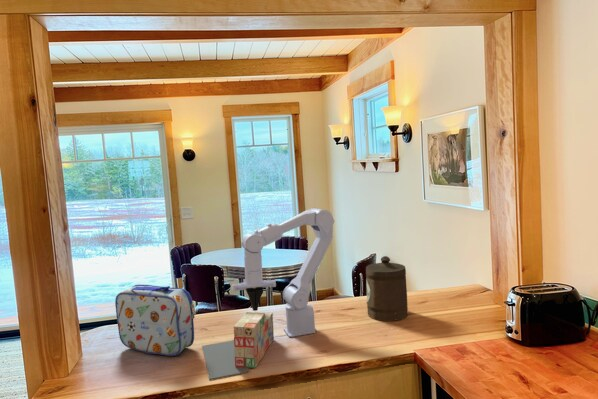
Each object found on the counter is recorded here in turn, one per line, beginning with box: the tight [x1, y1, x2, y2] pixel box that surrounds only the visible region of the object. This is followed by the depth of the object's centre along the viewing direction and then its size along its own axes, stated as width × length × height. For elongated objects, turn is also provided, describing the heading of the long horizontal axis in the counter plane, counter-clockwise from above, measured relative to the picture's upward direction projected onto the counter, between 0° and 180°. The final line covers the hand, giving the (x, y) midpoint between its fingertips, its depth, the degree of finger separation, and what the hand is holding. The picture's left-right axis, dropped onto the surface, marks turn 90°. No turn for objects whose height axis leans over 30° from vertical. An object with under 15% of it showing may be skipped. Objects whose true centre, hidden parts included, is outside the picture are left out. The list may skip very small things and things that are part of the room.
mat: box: [201, 339, 250, 381], centre depth 135 cm, size 11×24×1 cm, turn 17°
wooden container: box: [365, 255, 409, 322], centre depth 165 cm, size 15×15×22 cm
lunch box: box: [114, 284, 197, 357], centre depth 144 cm, size 28×10×22 cm, turn 68°
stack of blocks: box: [233, 311, 275, 369], centre depth 138 cm, size 21×6×12 cm, turn 169°
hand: (255, 309), depth 147 cm, fingers closed
